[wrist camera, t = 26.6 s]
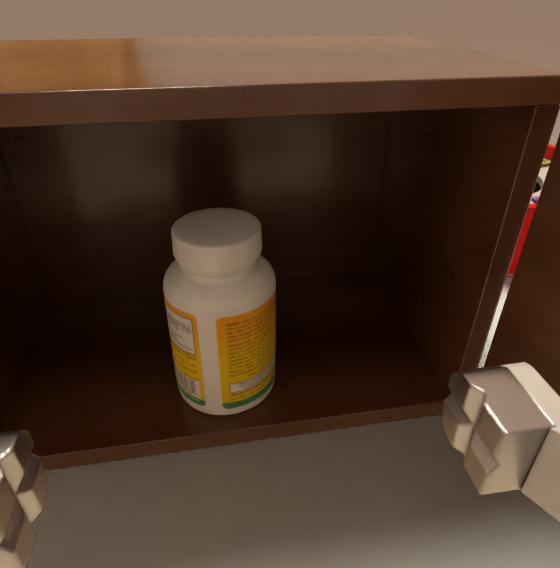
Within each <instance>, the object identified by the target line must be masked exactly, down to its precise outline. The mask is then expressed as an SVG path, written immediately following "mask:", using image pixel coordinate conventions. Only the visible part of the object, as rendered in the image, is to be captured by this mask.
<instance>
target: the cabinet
mask: <svg viewBox="0 0 560 568" xmlns="http://www.w3.org/2000/svg"><path fill="white" fill-rule="evenodd" d="M559 104H560V72H557V71H552V70H549V69H545V68H541V67H537V66H533V65H529V64H525V63H522V62H517V61H514V60H510V59H506V58H502V57H498V56H494V55H490V54H486V53H482V52H478V51H475V50H471V49H467V48H463V47H459V46H455V45H451V44H447V43H443V42H439V41H435V40H431V39H428V38H424V37H420V36H416V35H412V34H370V35H312V36H311V35H310V36H253V37H252V36H251V37H194V38H193V37H192V38H141V39H140V38H137V39H136V38H135V39H134V38H133V39H76V40H75V39H74V40H17V41H0V432H6V431H15V430H28V431H29V433H30V435H31V437H32V439H33V441H34V444H33V447H32V450H31V453H33V454H35V455H37V456H39V457H41V459H42V461H43V463H44V466H45V470H49V469H56V468H63V467H70V466H77V465H84V464H91V463H98V462H105V461H112V460H119V459H126V458H133V457H140V456H147V455H154V454H161V453H168V452H175V451H183V450H190V449H197V448H204V447H211V446H218V445H225V444H232V443H239V442H246V441H253V440H260V439H267V438H274V437H281V436H288V435H295V434H302V433H309V432H316V431H323V430H330V429H338V428H345V427H352V426H359V425H366V424H373V423H380V422H387V421H394V420H401V419H408V418H415V417H422V416H429V415H436V414H441V410H442V406H443V401H444V400H445V399H446V398H447V397H448V396H449V395H450V394H451V393H452V391H451V390H450V388H449V387H448V383H449V380H450V376H451V375H452V374H453V373H454V372H456V371H463V370H470V369H477V368H478V365H479V362H480V359H481V356H482V353H483V349H484V346H485V343H486V340H487V337H488V334H489V330H490V327H491V324H492V321H493V318H494V315H495V311H496V308H497V305H498V302H499V299H500V296H501V292H502V289H503V286H504V283H505V280H506V277H507V273H508V270H509V267H510V264H511V261H512V258H513V254H514V251H515V248H516V245H517V242H518V239H519V235H520V232H521V229H522V226H523V223H524V220H525V216H526V213H527V210H528V207H529V204H530V201H531V197H532V194H533V191H534V188H535V185H536V182H537V178H538V175H539V172H540V169H541V166H542V163H543V159H544V156H545V153H546V150H547V147H548V144H549V140H550V137H551V134H552V131H553V128H554V125H555V121H556V118H557V115H558V112H559V109H560V105H559ZM208 208H234V209H239V210H243V211H246V212H248V213H250V214H252V215H254V216H255V217H256V218H257V219H258V220H259V222H260V224H261V232H262V251H261V253H260V254H261V255H262V256H263V257H264V258H266V259H267V261H268V262H269V263H270V264H271V266H272V268H273V270H274V273H275V278H276V356H275V380H274V384H273V387H272V389H271V391H270V393H269V394H268V395H267V397H266V398H265V399H264V400H263V401H262V402H260V403H259V404H258V405H256V406H254V407H252V408H250V409H248V410H245V411H243V412H241V413H237V414H232V415H211V414H207V413H204V412H201V411H199V410H197V409H195V408H193V407H192V406H190V405H189V404H188V403H187V402H186V401H185V400H184V398H183V397H182V395H181V393H180V391H179V388H178V384H177V379H176V374H175V366H174V360H173V353H172V346H171V339H170V332H169V327H168V319H167V313H166V306H165V300H164V293H163V279H164V276H165V273H166V271H167V269H168V267H169V266H170V265H171V263H172V262H174V261H175V260H176V259H175V257H174V255H173V245H172V236H171V228H172V226H173V224H174V223H175V222H176V221H177V220H178V219H179V218H181V217H182V216H184V215H186V214H188V213H191V212H194V211H198V210H203V209H208Z"/></svg>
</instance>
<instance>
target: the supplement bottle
mask: <svg viewBox="0 0 560 568" xmlns="http://www.w3.org/2000/svg"><path fill="white" fill-rule="evenodd" d="M171 236H172V245H173V255H174V257H175V259H176V260H175V261H174V262H172V263H171V265H170V266H169V267H168V269H167V271H166V273H165V276H164V279H163V293H164V300H165V306H166V313H167V319H168V327H169V332H170V339H171V346H172V353H173V360H174V366H175V374H176V379H177V384H178V388H179V391H180V393H181V395H182V397H183V398H184V400H185V401H186V402H187V403H188V404H189V405H190V406H192V407H193V408H195V409H197V410H199V411H201V412H204V413H207V414H211V415H232V414H237V413H241V412H243V411H245V410H248V409H250V408H252V407H254V406H256V405H258V404H259V403H260V402H262V401H263V400H264V399H265V398H266V397H267V395H268V394H269V393H270V391H271V389H272V387H273V384H274V380H275V356H276V278H275V273H274V270H273V268H272V266H271V264H270V263H269V262H268V261H267V259H266V258H264V257H263V256H262V255H261V254H260V253H261V251H262V232H261V224H260V222H259V220H258V219H257V218H256V217H255V216H254V215H252V214H250V213H248V212H246V211H243V210H239V209H234V208H208V209H203V210H198V211H194V212H191V213H188V214H186V215H184V216H182V217H181V218H179V219H178V220H177V221H176V222H175V223H174V224H173V226H172V228H171Z"/></svg>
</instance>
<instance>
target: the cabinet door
mask: <svg viewBox="0 0 560 568" xmlns="http://www.w3.org/2000/svg"><path fill="white" fill-rule="evenodd" d="M521 362H526V363H527V364H529V365H531V366H532V367H533V368H534V369H535V370H536V371H537V372H538V373H539V374H540V376H541V377H542V378H543V379H544V380H545V381H546V382H547V383H548V384H549V386H550V387H551V388H552V389H553V390H554V391H555V392H556V393H557V394H558V396H559V397H560V135H559V138H558V141H557V144H556V147H555V150H554V153H553V156H552V159H551V162H550V165H549V168H548V171H547V174H546V177H545V181H544V184H543V187H542V190H541V193H540V196H539V199H538V202H537V205H536V208H535V211H534V214H533V217H532V221H531V224H530V227H529V230H528V233H527V236H526V239H525V242H524V245H523V248H522V251H521V254H520V257H519V261H518V264H517V267H516V270H515V273H514V276H513V279H512V282H511V285H510V288H509V291H508V294H507V297H506V300H505V304H504V307H503V310H502V313H501V316H500V319H499V322H498V325H497V328H496V331H495V334H494V337H493V340H492V344H491V347H490V350H489V353H488V356H487V359H486V362H485V365H484V367H491V366H501V365H506V364H514V363H521Z"/></svg>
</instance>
